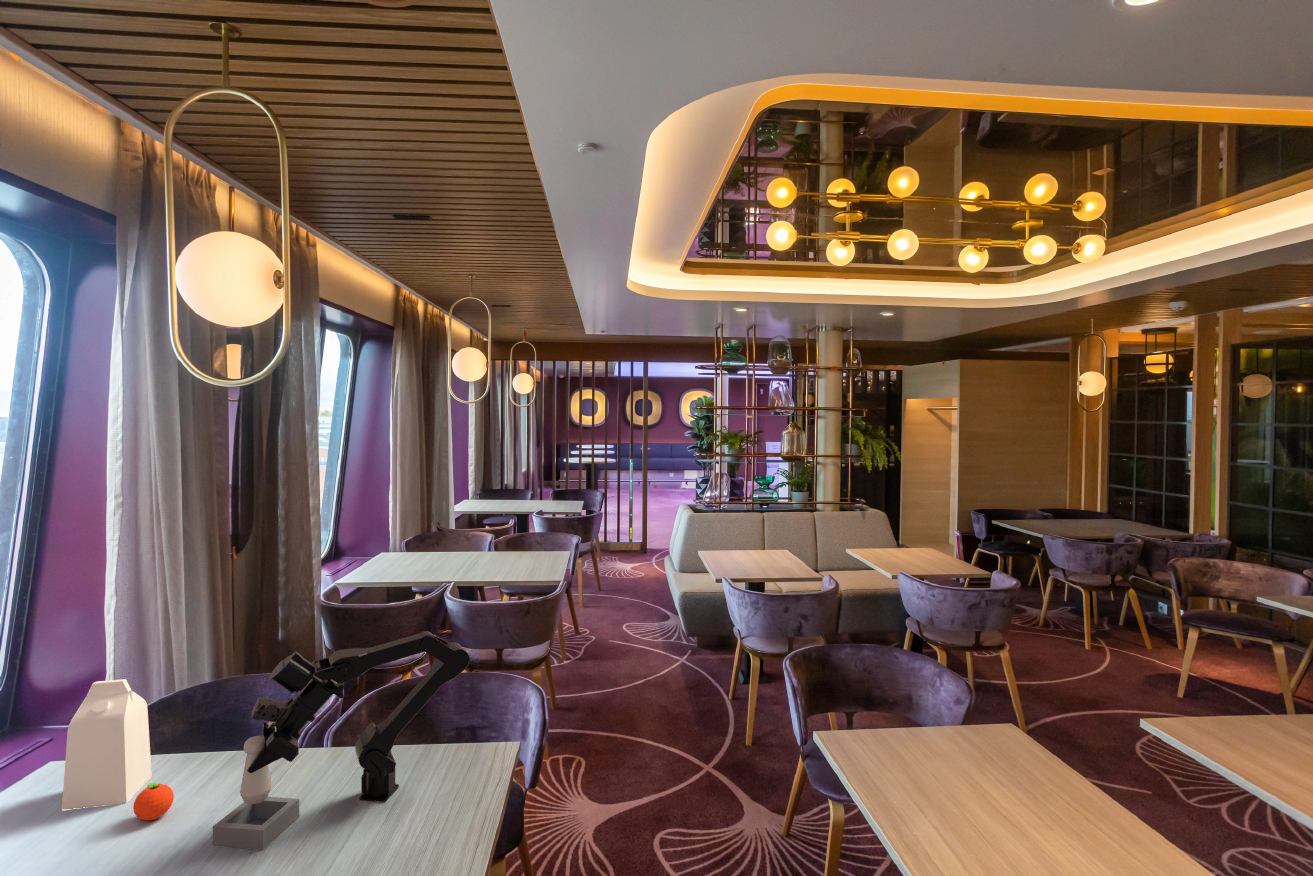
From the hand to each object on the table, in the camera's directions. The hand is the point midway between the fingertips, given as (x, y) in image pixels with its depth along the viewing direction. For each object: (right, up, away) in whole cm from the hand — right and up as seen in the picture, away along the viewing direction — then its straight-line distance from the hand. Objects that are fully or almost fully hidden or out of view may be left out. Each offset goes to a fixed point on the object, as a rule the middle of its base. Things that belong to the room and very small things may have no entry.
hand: (248, 767), depth 133 cm
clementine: (-24, -13, +4) cm, 28 cm away
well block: (+2, -13, 0) cm, 13 cm away
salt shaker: (+1, -7, +1) cm, 7 cm away
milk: (-41, -13, +13) cm, 45 cm away
